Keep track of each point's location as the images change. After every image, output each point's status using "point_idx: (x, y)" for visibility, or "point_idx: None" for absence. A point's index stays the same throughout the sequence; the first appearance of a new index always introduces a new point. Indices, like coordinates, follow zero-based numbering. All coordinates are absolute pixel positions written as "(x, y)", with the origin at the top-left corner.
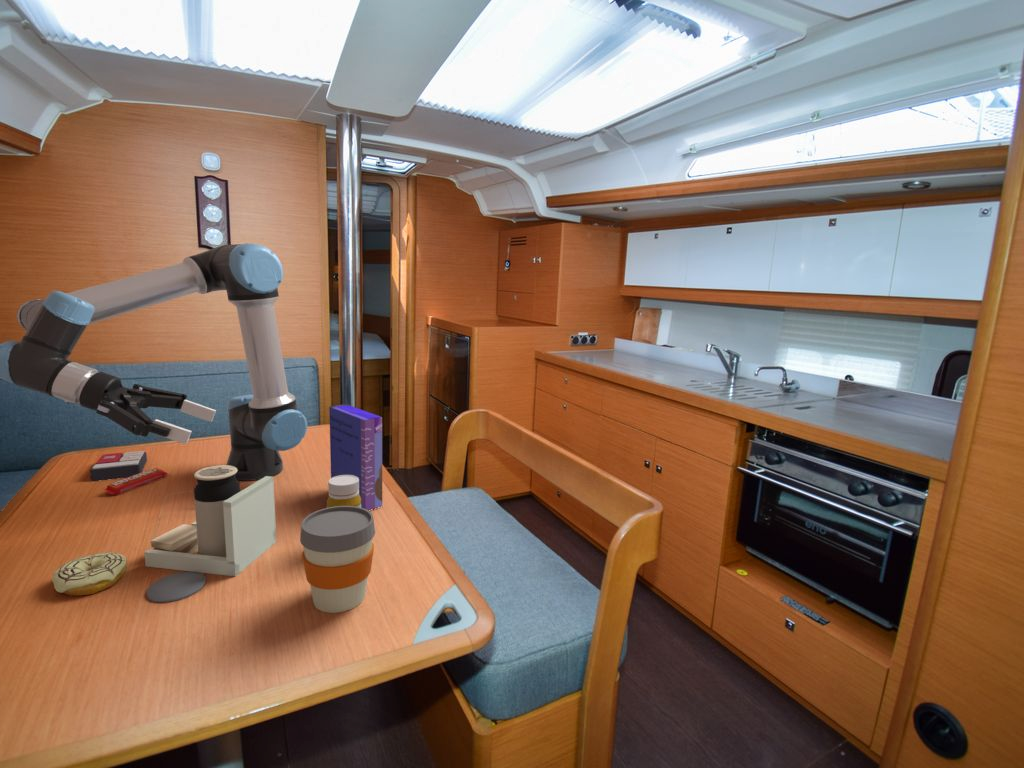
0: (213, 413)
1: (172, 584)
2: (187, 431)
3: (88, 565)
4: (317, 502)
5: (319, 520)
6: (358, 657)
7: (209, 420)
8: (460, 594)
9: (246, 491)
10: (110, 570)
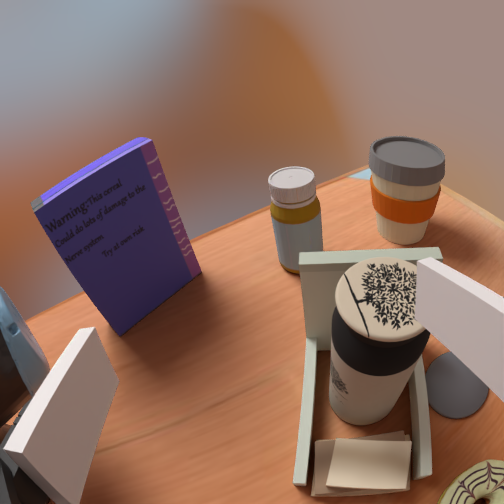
0: (99, 341)
1: (459, 389)
2: (437, 262)
3: None
4: (157, 342)
5: (411, 165)
6: (450, 198)
7: (116, 382)
8: (359, 172)
9: (388, 252)
10: (488, 466)
